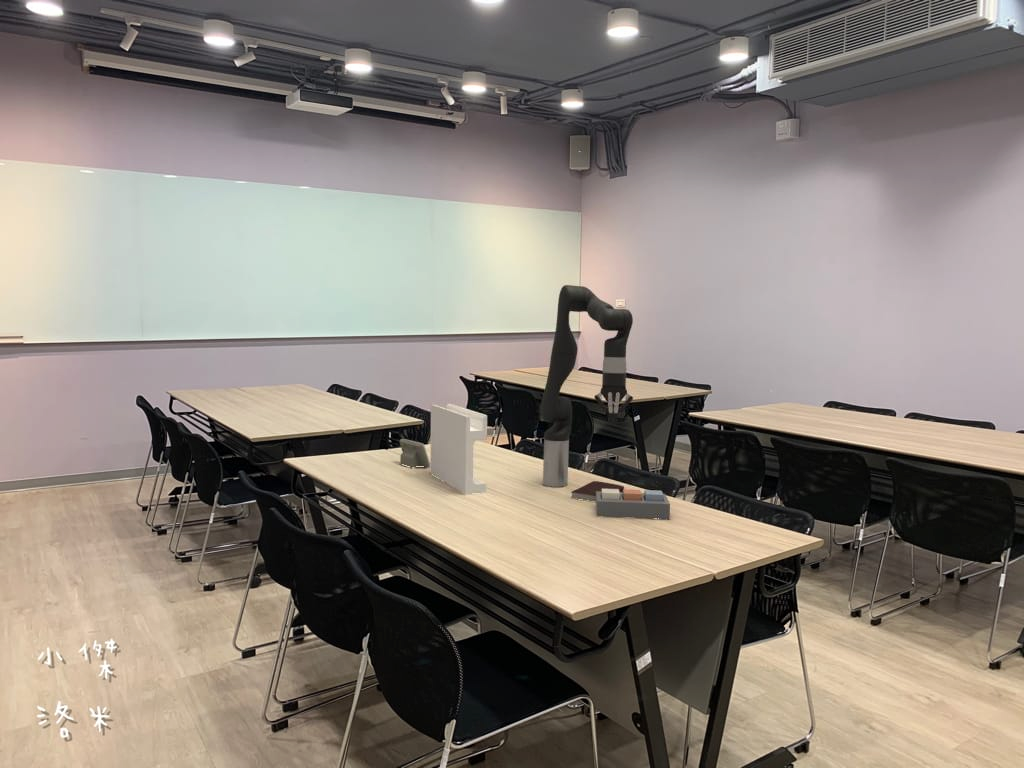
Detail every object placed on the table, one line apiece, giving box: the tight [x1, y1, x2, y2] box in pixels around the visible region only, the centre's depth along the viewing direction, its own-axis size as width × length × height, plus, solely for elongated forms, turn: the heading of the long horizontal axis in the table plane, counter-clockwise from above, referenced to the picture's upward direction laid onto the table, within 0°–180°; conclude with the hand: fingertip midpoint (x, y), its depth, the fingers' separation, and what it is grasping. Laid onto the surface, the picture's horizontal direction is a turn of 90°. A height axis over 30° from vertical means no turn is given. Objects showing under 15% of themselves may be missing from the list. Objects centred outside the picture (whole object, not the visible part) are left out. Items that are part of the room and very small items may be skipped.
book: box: [570, 480, 625, 503], centre depth 262 cm, size 12×19×3 cm, turn 149°
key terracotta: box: [623, 488, 642, 500], centre depth 240 cm, size 6×6×4 cm
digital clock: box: [399, 438, 430, 468], centre depth 306 cm, size 16×9×11 cm, turn 31°
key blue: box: [643, 489, 664, 501], centre depth 239 cm, size 6×6×4 cm
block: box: [429, 403, 488, 495], centre depth 275 cm, size 35×8×28 cm, turn 27°
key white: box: [601, 489, 620, 500], centre depth 240 cm, size 6×6×4 cm
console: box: [595, 491, 671, 520], centre depth 240 cm, size 23×13×5 cm, turn 85°
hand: (612, 424), depth 238 cm, fingers closed
